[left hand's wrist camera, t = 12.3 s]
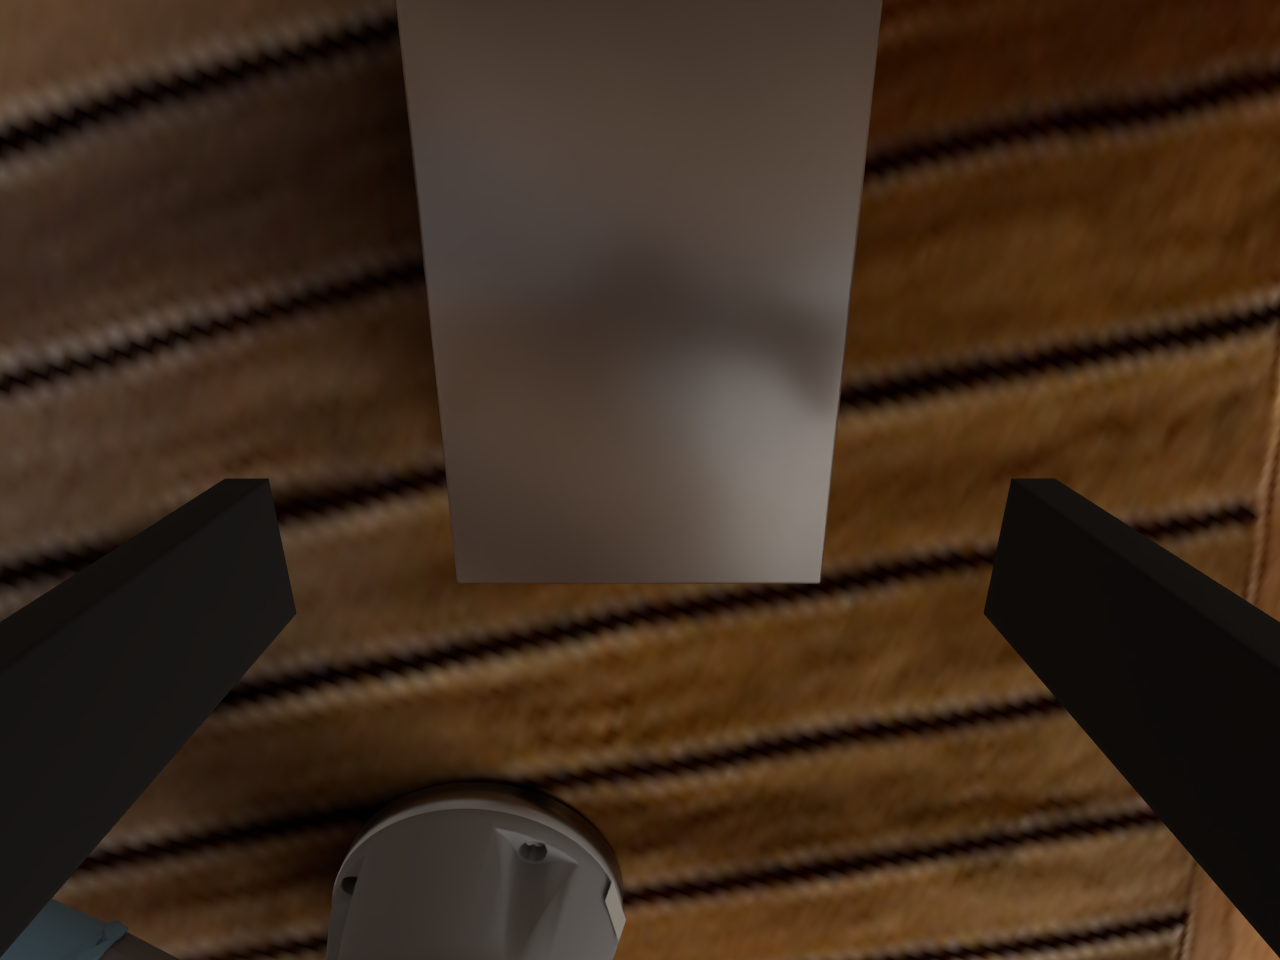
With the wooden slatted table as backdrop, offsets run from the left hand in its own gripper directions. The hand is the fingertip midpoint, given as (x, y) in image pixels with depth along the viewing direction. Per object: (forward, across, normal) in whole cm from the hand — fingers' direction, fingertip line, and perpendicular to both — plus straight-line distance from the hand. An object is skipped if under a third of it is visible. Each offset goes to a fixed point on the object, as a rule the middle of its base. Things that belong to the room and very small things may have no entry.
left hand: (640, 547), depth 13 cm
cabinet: (+16, 0, -4) cm, 17 cm away
